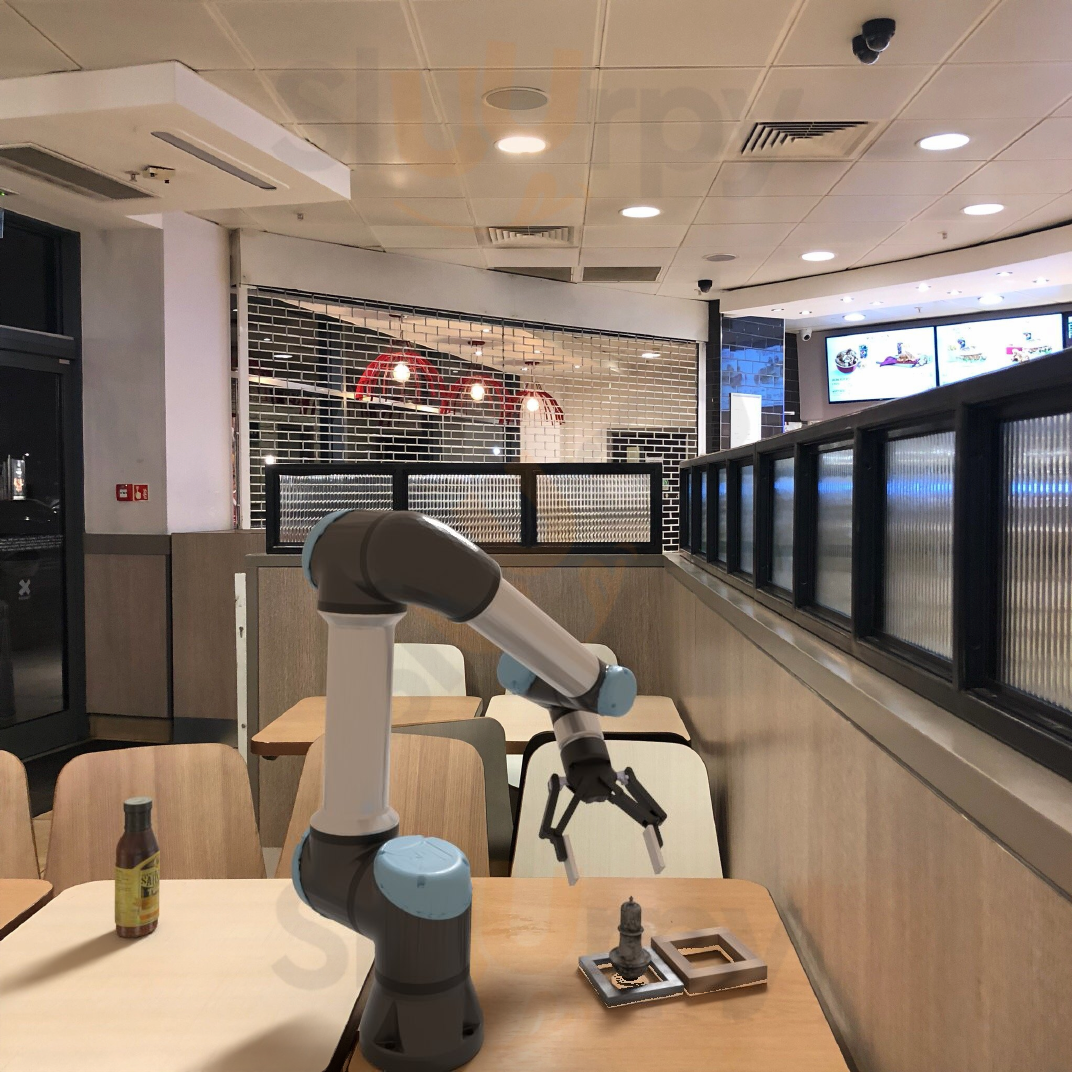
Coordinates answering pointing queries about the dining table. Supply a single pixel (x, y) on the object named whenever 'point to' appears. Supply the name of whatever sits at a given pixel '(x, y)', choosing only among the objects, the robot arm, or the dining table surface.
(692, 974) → the walnut holder block
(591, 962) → the metal collar
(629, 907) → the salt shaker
